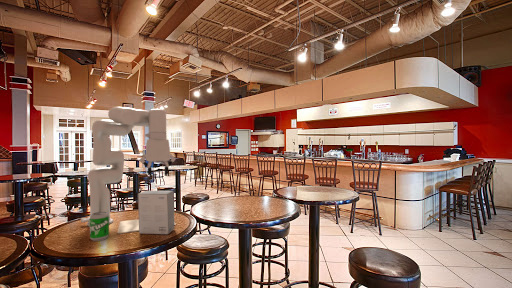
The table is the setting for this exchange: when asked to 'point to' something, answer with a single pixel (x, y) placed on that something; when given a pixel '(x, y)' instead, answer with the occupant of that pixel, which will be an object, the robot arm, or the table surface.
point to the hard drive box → (156, 212)
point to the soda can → (99, 226)
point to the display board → (129, 226)
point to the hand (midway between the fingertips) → (158, 175)
